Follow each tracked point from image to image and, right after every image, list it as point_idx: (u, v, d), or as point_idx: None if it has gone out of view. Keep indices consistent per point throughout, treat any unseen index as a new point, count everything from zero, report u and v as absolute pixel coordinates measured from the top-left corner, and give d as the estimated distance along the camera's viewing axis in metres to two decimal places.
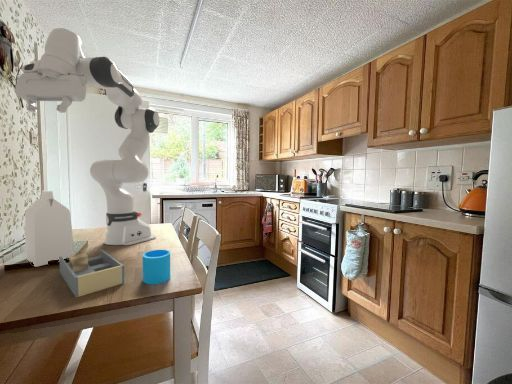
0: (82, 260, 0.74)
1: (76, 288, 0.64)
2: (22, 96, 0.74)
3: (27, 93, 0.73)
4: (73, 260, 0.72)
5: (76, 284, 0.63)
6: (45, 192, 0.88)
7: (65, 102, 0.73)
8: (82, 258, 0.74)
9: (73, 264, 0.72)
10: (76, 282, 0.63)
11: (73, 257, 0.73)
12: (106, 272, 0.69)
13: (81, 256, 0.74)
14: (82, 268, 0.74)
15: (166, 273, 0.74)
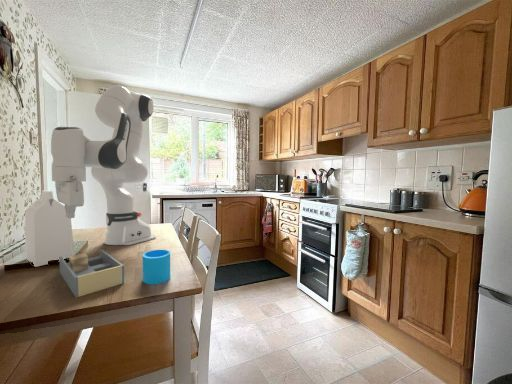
0: (82, 260, 0.74)
1: (76, 288, 0.64)
2: None
3: (60, 201, 0.81)
4: (73, 260, 0.72)
5: (76, 284, 0.63)
6: (45, 192, 0.88)
7: (69, 210, 0.77)
8: (82, 258, 0.74)
9: (73, 264, 0.72)
10: (76, 282, 0.63)
11: (73, 257, 0.73)
12: (106, 272, 0.69)
13: (81, 256, 0.74)
14: (82, 268, 0.74)
15: (166, 273, 0.74)
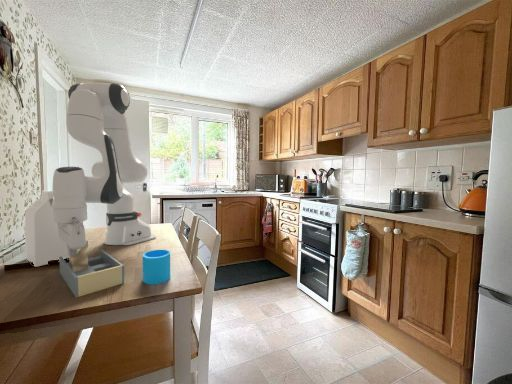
0: (82, 260, 0.74)
1: (76, 288, 0.64)
2: None
3: (62, 239, 0.82)
4: (73, 260, 0.72)
5: (76, 284, 0.63)
6: (45, 192, 0.88)
7: (71, 250, 0.78)
8: (82, 258, 0.74)
9: (73, 264, 0.72)
10: (76, 282, 0.63)
11: (73, 257, 0.73)
12: (106, 272, 0.69)
13: (81, 256, 0.74)
14: (82, 268, 0.74)
15: (166, 273, 0.74)
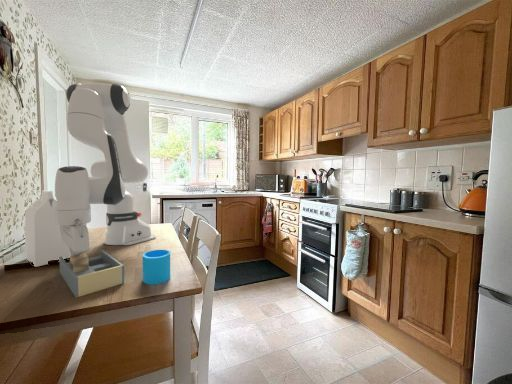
0: (83, 260, 0.73)
1: (76, 288, 0.64)
2: None
3: None
4: (73, 260, 0.72)
5: (76, 284, 0.63)
6: (45, 192, 0.88)
7: (74, 253, 0.75)
8: (83, 258, 0.73)
9: (73, 264, 0.72)
10: (76, 282, 0.63)
11: (73, 257, 0.73)
12: (106, 272, 0.69)
13: (81, 256, 0.74)
14: (82, 268, 0.74)
15: (166, 273, 0.74)
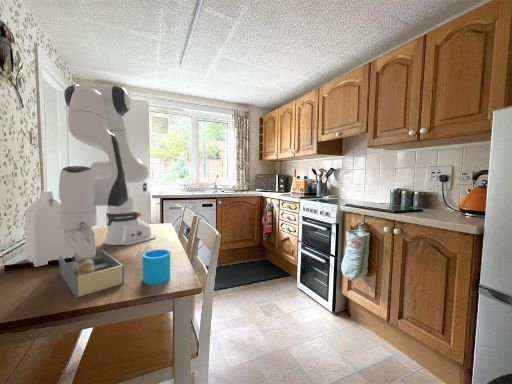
0: (88, 266, 0.69)
1: (76, 288, 0.64)
2: None
3: None
4: (78, 267, 0.67)
5: (76, 284, 0.63)
6: (45, 192, 0.88)
7: (79, 258, 0.70)
8: (88, 264, 0.69)
9: (78, 271, 0.67)
10: (76, 282, 0.63)
11: (78, 263, 0.69)
12: (106, 272, 0.69)
13: (87, 262, 0.70)
14: None
15: (166, 273, 0.74)
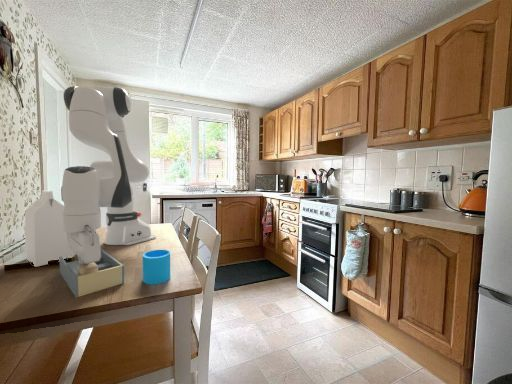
0: (92, 270, 0.67)
1: (76, 288, 0.64)
2: None
3: (72, 249, 0.72)
4: (82, 271, 0.65)
5: (76, 284, 0.63)
6: (45, 192, 0.88)
7: (83, 262, 0.68)
8: (92, 267, 0.66)
9: None
10: (76, 282, 0.63)
11: (82, 267, 0.66)
12: (106, 272, 0.69)
13: (91, 266, 0.67)
14: None
15: (166, 273, 0.74)
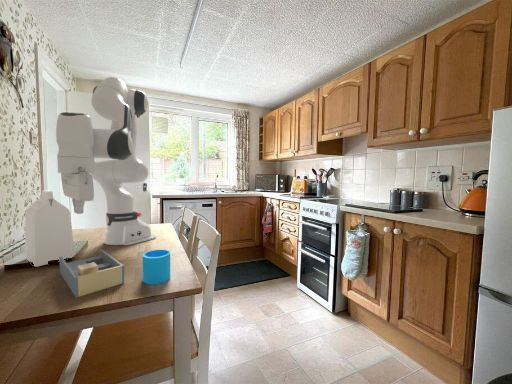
0: (92, 270, 0.67)
1: (76, 288, 0.64)
2: None
3: (66, 195, 0.74)
4: (82, 271, 0.65)
5: (76, 284, 0.63)
6: (45, 192, 0.88)
7: (77, 205, 0.70)
8: (92, 267, 0.66)
9: None
10: (76, 282, 0.63)
11: (82, 267, 0.66)
12: (106, 272, 0.69)
13: (91, 266, 0.67)
14: None
15: (166, 273, 0.74)
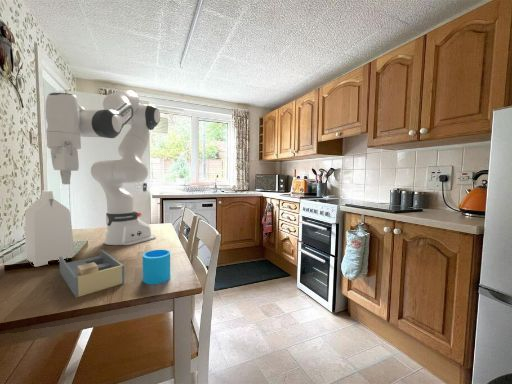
0: (92, 270, 0.67)
1: (76, 288, 0.64)
2: None
3: (55, 169, 0.82)
4: (82, 271, 0.65)
5: (76, 284, 0.63)
6: (45, 192, 0.88)
7: (64, 176, 0.78)
8: (92, 267, 0.66)
9: None
10: (76, 282, 0.63)
11: (82, 267, 0.66)
12: (106, 272, 0.69)
13: (91, 266, 0.67)
14: None
15: (166, 273, 0.74)
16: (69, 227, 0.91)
